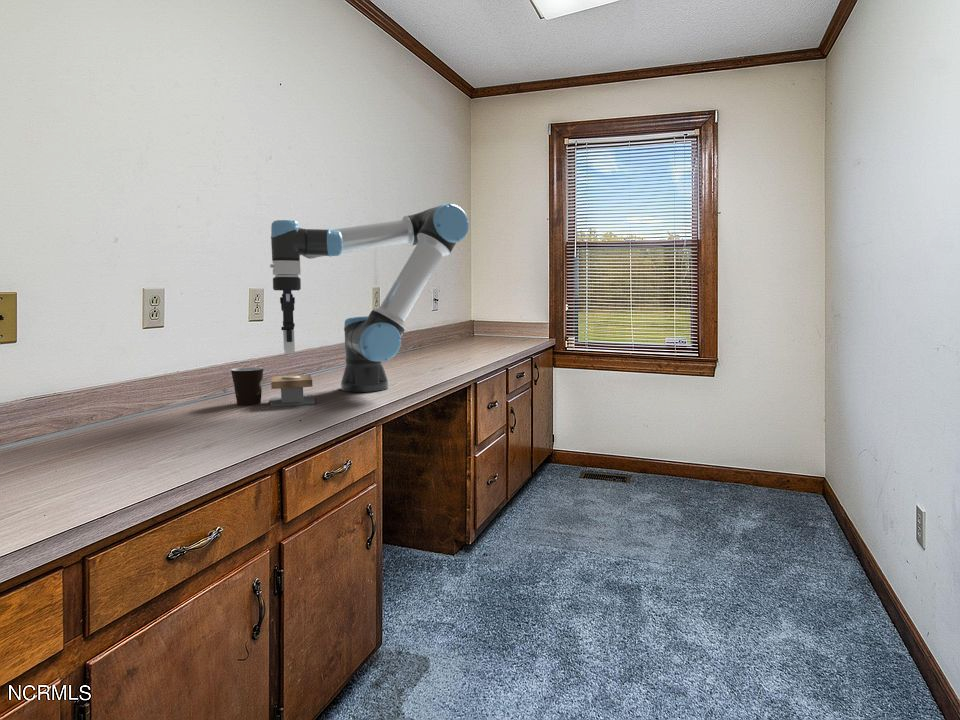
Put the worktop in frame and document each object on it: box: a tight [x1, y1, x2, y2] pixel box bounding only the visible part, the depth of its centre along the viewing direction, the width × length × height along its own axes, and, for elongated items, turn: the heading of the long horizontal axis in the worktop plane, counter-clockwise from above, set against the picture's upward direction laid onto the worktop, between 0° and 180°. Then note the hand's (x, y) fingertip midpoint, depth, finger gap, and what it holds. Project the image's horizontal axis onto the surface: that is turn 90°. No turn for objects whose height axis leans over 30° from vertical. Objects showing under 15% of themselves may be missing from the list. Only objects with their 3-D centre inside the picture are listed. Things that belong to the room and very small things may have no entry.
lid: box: [270, 374, 313, 390], centre depth 185 cm, size 11×11×2 cm
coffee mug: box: [230, 366, 264, 407], centre depth 185 cm, size 12×9×10 cm
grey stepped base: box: [269, 387, 316, 408], centre depth 185 cm, size 12×12×5 cm
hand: (289, 351), depth 184 cm, fingers open, 13 cm apart
